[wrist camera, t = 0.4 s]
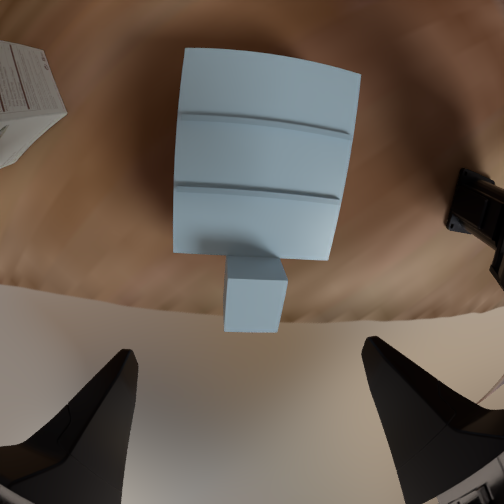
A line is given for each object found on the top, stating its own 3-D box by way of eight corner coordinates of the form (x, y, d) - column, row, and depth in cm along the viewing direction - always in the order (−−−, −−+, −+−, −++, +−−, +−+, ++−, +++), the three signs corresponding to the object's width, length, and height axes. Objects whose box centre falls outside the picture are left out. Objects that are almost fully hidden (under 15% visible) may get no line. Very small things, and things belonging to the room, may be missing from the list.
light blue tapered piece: (189, 55, 12) (177, 34, 8) (347, 77, 13) (384, 69, 10) (178, 286, 18) (170, 328, 15) (308, 291, 20) (325, 331, 16)
